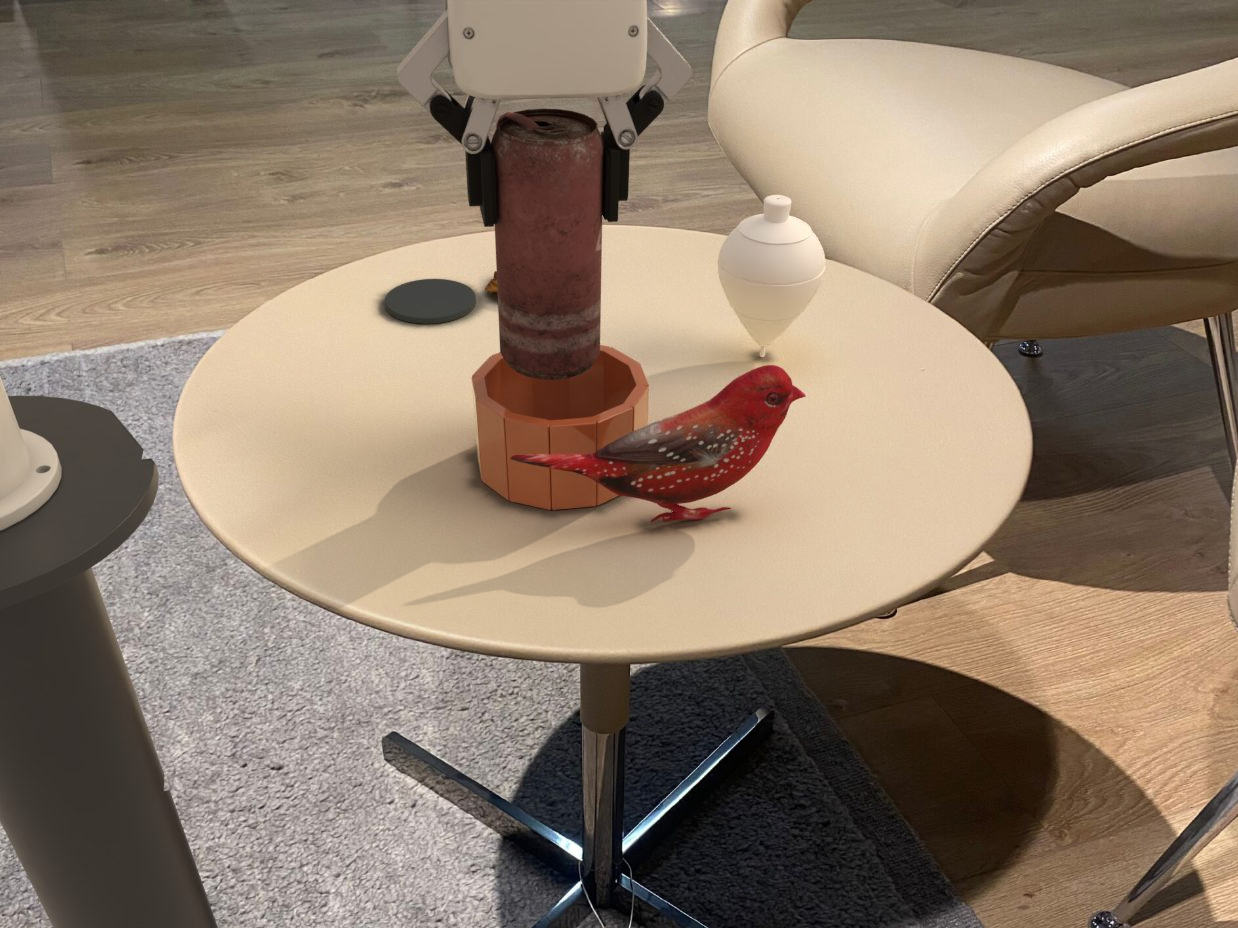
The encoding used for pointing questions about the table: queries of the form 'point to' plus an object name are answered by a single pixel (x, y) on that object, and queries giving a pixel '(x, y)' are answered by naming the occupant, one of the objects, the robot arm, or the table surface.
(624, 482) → the decorative bird figurine
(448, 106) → the robot arm
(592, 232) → the can
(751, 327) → the spinning top
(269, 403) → the table surface
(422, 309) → the coaster
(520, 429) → the pot
